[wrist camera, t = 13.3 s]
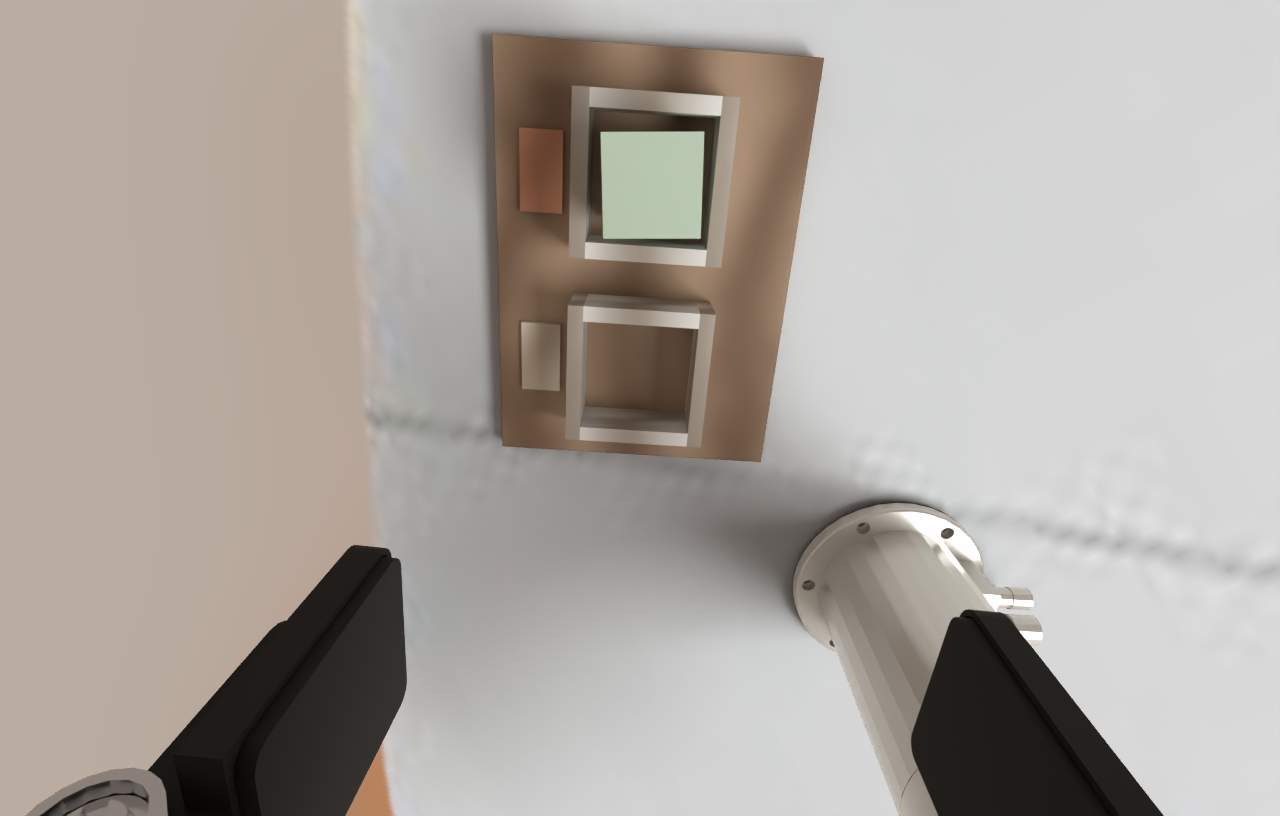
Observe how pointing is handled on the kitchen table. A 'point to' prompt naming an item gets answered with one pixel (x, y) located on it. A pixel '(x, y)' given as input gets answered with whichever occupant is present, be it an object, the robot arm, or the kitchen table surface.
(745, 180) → the socket board
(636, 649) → the kitchen table surface
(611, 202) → the plug
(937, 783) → the robot arm
